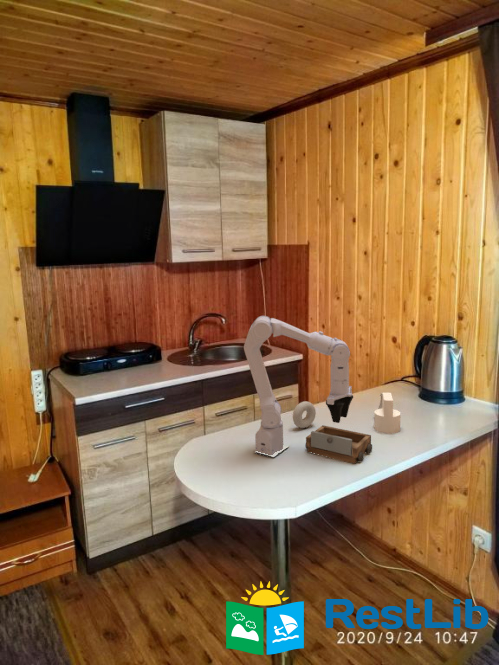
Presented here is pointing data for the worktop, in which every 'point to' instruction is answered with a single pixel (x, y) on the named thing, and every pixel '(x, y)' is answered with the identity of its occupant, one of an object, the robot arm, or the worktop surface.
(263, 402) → the robot arm
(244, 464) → the worktop surface
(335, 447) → the tailgate
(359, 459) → the box
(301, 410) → the donut
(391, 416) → the cylinder with rectangular tab
